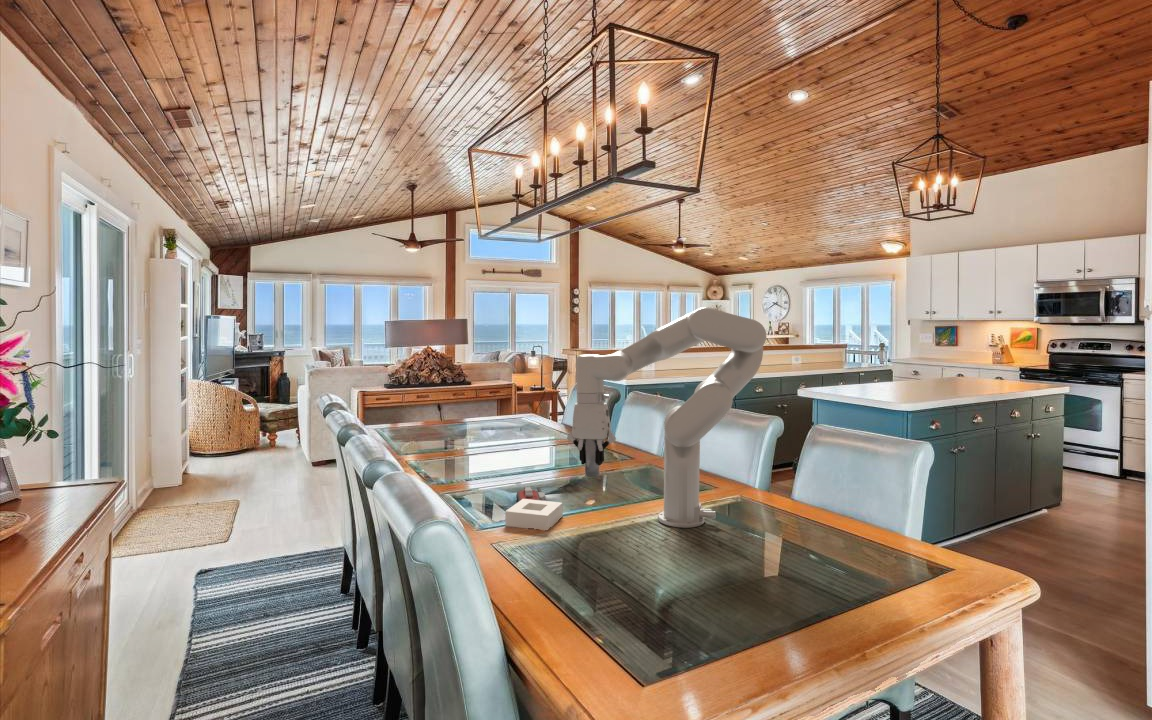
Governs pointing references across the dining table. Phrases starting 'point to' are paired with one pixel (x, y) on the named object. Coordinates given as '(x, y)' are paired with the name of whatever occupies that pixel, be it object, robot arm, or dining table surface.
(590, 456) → the peg
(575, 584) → the dining table surface
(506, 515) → the socket block
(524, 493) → the walkie-talkie
